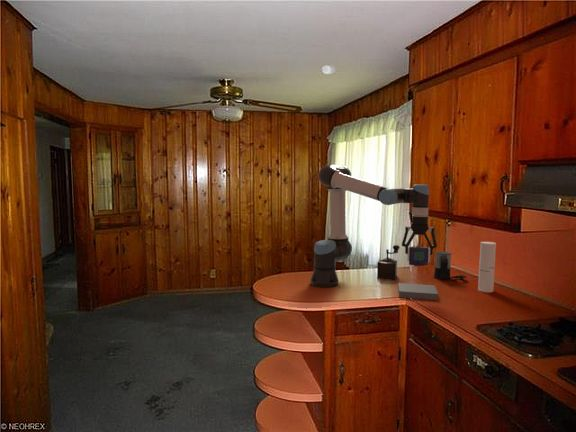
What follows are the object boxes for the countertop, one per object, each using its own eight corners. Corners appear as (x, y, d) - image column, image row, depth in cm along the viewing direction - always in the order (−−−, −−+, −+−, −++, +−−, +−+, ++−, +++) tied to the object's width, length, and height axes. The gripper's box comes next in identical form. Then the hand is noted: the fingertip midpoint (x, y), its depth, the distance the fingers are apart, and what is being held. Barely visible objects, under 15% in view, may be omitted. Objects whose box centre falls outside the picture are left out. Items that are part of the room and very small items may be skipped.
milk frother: (430, 275, 239) (431, 251, 237) (456, 275, 240) (457, 250, 239) (441, 282, 225) (443, 256, 223) (469, 281, 226) (470, 255, 224)
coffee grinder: (396, 280, 228) (397, 249, 226) (376, 278, 232) (377, 247, 230) (399, 274, 243) (400, 244, 241) (380, 272, 247) (381, 243, 245)
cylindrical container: (496, 292, 206) (499, 244, 204) (482, 292, 206) (485, 244, 203) (488, 288, 213) (491, 241, 211) (475, 288, 213) (477, 241, 210)
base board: (399, 297, 198) (399, 291, 197) (398, 288, 212) (398, 283, 212) (437, 300, 193) (438, 293, 193) (434, 291, 208) (434, 285, 208)
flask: (426, 264, 202) (427, 243, 201) (428, 265, 199) (429, 244, 198) (408, 264, 203) (408, 243, 202) (409, 265, 200) (410, 244, 199)
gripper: (397, 216, 198) (395, 261, 200) (444, 217, 192) (442, 263, 195) (396, 214, 205) (395, 258, 207) (442, 215, 200) (440, 260, 202)
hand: (418, 260), depth 201 cm, fingers closed on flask, 9 cm apart
